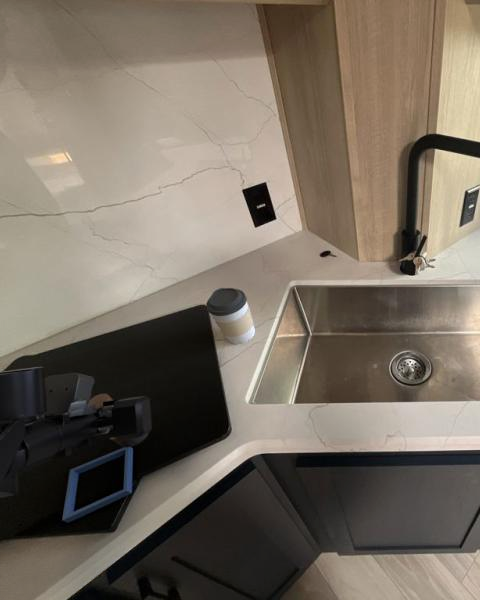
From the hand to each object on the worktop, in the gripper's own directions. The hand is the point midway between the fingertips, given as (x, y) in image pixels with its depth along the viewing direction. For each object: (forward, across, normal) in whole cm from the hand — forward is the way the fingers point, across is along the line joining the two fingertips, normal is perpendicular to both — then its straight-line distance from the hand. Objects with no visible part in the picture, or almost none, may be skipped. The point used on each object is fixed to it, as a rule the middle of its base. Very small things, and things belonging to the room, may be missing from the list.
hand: (119, 410), depth 59 cm
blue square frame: (+3, +5, +14) cm, 15 cm away
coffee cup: (+27, -14, -10) cm, 32 cm away
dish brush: (+4, 0, +6) cm, 7 cm away
